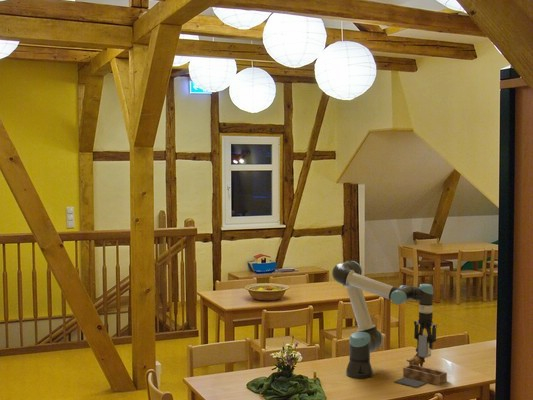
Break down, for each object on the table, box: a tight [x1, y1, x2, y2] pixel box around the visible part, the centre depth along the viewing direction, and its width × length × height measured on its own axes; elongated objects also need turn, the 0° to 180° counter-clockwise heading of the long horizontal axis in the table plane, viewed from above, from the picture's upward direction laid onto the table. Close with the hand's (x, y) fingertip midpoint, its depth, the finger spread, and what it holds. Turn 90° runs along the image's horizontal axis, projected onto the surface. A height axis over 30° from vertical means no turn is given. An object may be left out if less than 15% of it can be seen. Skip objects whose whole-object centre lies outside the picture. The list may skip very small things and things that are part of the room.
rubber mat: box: [393, 376, 427, 389], centre depth 377 cm, size 14×10×1 cm
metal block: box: [418, 332, 432, 359], centre depth 383 cm, size 5×5×12 cm
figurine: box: [406, 344, 426, 367], centre depth 400 cm, size 7×22×15 cm, turn 137°
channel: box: [402, 364, 448, 386], centre depth 384 cm, size 22×9×5 cm, turn 47°
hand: (424, 352), depth 384 cm, fingers closed on metal block, 5 cm apart
